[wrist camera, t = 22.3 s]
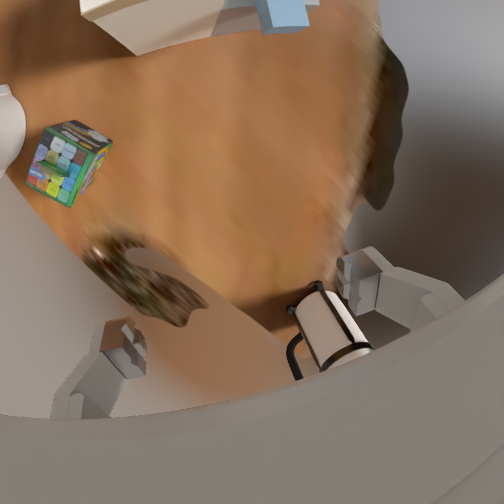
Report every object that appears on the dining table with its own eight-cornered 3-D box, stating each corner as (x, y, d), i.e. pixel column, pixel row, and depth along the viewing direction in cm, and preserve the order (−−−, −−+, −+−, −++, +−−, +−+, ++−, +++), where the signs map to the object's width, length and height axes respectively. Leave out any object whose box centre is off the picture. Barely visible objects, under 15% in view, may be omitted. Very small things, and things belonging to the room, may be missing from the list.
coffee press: (286, 282, 63) (343, 394, 38) (346, 277, 66) (413, 369, 41) (276, 334, 71) (314, 433, 47) (329, 326, 75) (376, 412, 50)
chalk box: (53, 163, 38) (11, 191, 25) (74, 117, 35) (32, 129, 22) (92, 186, 42) (60, 221, 30) (115, 141, 39) (86, 160, 27)
